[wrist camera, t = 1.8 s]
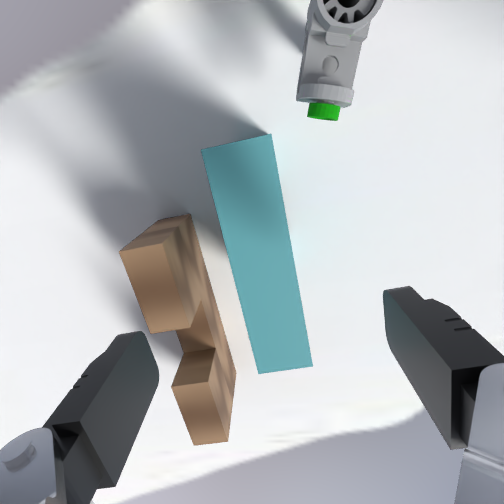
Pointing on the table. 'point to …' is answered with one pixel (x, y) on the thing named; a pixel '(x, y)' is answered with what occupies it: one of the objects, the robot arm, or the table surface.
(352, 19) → the mechanical component
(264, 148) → the teal notched block
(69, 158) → the table surface
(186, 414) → the walnut slotted plate
